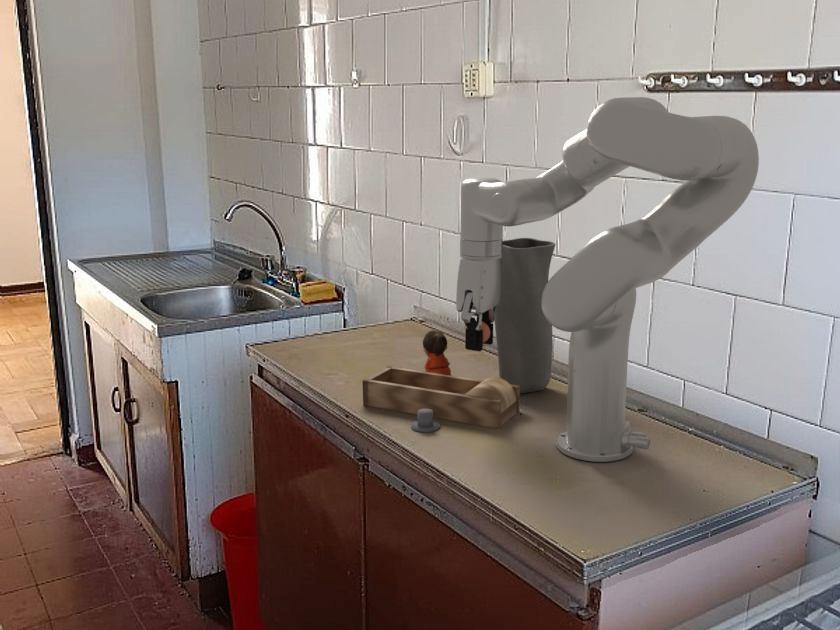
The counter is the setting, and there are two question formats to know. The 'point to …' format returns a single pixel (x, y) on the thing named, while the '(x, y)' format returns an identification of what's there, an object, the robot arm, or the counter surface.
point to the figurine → (436, 353)
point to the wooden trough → (443, 395)
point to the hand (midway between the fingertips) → (479, 345)
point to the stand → (425, 421)
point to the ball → (485, 331)
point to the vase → (524, 314)
